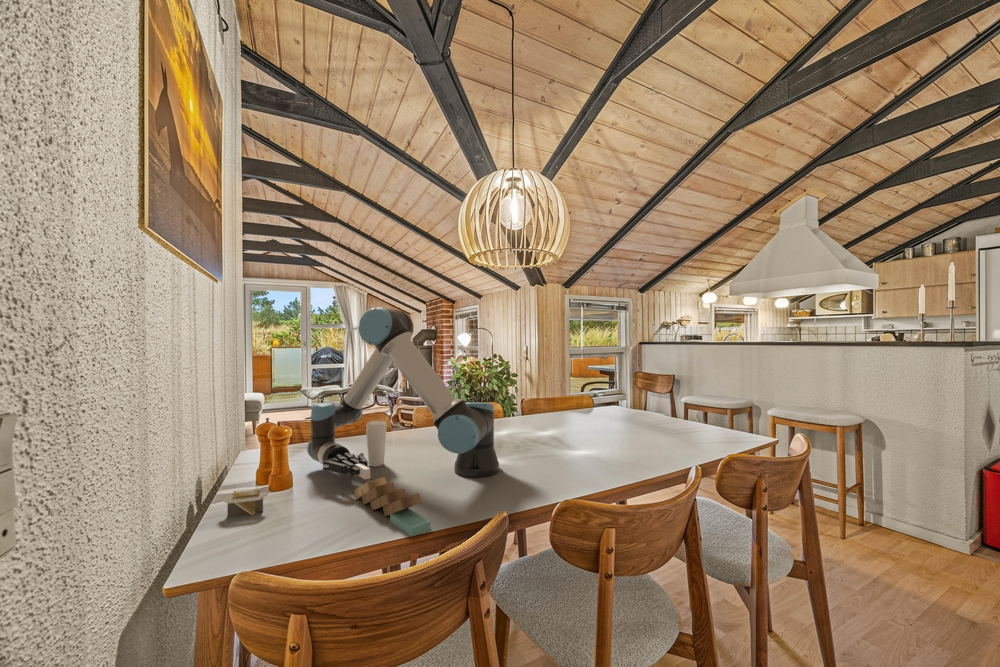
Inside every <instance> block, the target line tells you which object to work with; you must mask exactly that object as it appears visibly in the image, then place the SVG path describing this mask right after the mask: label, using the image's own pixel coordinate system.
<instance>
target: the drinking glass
mask: <svg viewBox="0 0 1000 667" xmlns="http://www.w3.org/2000/svg"><path fill="white" fill-rule="evenodd" d="M365 427H366V429H365V433H366V436H365V437H366V446H367V458H368V459H367V461H368V467H372V468H376V467H378V468H379V467H381V466H383V465H384V464H385V455H386V454H385V453H386V452H385V451H386V443H387V442H386V440H387V421H384V420H372V421H369V422H367V423H366V426H365Z"/></svg>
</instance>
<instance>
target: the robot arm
mask: <svg viewBox="0 0 1000 667" xmlns="http://www.w3.org/2000/svg"><path fill="white" fill-rule="evenodd" d="M414 330H415V329H414V322H413V320H412V318H411V316H410V315H409V314H408V313H406V312H405V311H403V310H399V309H394V308H393V309H392V308H385V307H373V308H370V309H368V310H366V311H365V312H363V314H362V316H361V318H360V319H359V325H358V334H359V337H360V339H361V340H362V341H363V342H364V343H366V344H368V345H370V346H374V347H375V350H374V351H373V352H372V354H371V355H370V357H369V358H368V360H367V361H366V363H365V364H364V366H363V368H362V369H361V371H360V372H359V374H358V376H357V377H356V379H355V380H354V382H353V383H352V385H351V387H350V388H349V390H348V391H347V393H346V394H345V396H344V397H343V399H342V401H341V402H340V403H339V404H338V405H335V403H334V402H318V403H315V404H313V405H312V406H311V408H310V409H311V412H310V413H311V414H310V440H309V441H308V443H307V446H306V453H307V454H308V456H310V458H311V459H312V460H313V461H316V462H318V463H320V464H321V465H322V470H323V471H329V472H333V473H336V474H340V475H344V476H346V475H348V474H349V477H354V476H355V475H356V476H358V477H360V478H362V479H363V480H369V479H371V468H370V467H369V464H368V459H367V458H366V457H365V455H364V453H363V452H360V453H359V454H357V455H355V454H354V453H351V452H350V450H349V449H348V448H347V447H345V446H343V445H341V444H339V443H337V442H336V429H337V428H340V427H342V426H343V427H344V426H346V425H349V424H353V423H355V422H356V421H358V420H360V419H361V418H362V416H363V409H364V406H365V404H366V403H367V401H368V400H369V398H370V396H372V394H373V393H374V391H375V390H376V388H377V387H378V384H379V383H380V382H381V380H382V378H383V377H384V375H385V374H386V373H387V371H388V369H389V368H390V366H391V365H392V363H393V364H394V365H395V366H396V368H397V369H398V371H399V372H400V373H401V375H402V376H403V377H404V378H405V379H406V381H407V382H408V383H409V385H410V386H411V388H412V389H413V390H414V392H415V394H417V396H418V397H419V398H420V400H421V401H422V403H424V405H425V406H426V408H427V410H429V411H430V413H431V414H432V416H433V422H432V423H433V425H434V427H435V428H436V429H437V438H438V440H439V443H440V445H441V446H442V447H443V448H444V449H445V450H446V451H448V452H450V453H452V454H457V456H456V460H455V461H454V473H455V474H456V475H458V476H461V477H466V478H483V477H484V478H485V477H489V476H493V475H495V474H497V473H498V472H500V463H499V460H498V456H497V452H496V449H495V446H494V445H495V408H494V407H495V406H494V404H493V403H490V402H483V401H482V402H479V401H477V402H476V401H475V402H474V401H465V400H464V399H462V398H457V397H455V395H454V394H453V393H452V391H451V390H450V389H449V387H448V386H447V385H446V384H445V382H444V381H443V380H442V379H441V377H440V375H438V373H437V372H436V371H435V369H434V368H433V367H432V366H431V364H430V363H429V361H428V360H427V359H426V357H424V355H423V354H422V353H421V351H420V350H419V348H417V346H416V345H415V344H414V342H413V341H412V337H413V334H414Z"/></svg>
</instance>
